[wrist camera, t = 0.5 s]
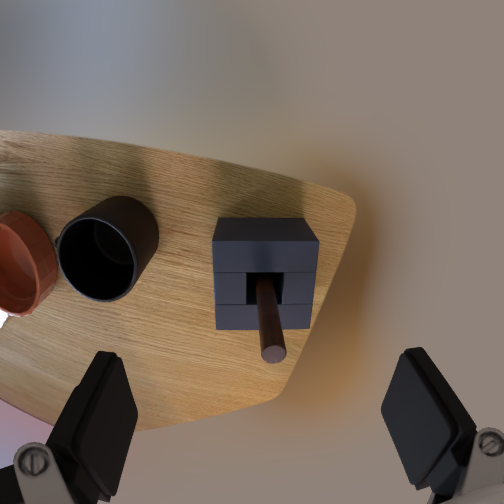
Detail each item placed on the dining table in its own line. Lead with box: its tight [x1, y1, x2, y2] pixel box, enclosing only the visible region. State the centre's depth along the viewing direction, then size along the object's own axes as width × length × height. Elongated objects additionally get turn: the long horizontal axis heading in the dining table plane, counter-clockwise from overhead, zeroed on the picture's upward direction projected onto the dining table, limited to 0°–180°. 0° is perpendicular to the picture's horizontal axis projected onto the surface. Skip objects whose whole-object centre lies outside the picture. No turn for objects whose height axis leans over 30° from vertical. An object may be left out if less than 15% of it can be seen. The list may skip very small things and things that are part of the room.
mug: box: [54, 196, 159, 302], centre depth 32 cm, size 9×12×9 cm
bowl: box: [0, 211, 57, 317], centre depth 35 cm, size 14×14×6 cm
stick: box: [254, 272, 286, 363], centre depth 30 cm, size 2×2×18 cm
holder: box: [212, 218, 319, 330], centre depth 35 cm, size 10×10×8 cm
